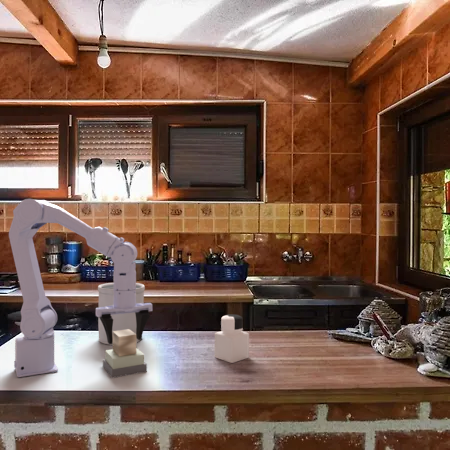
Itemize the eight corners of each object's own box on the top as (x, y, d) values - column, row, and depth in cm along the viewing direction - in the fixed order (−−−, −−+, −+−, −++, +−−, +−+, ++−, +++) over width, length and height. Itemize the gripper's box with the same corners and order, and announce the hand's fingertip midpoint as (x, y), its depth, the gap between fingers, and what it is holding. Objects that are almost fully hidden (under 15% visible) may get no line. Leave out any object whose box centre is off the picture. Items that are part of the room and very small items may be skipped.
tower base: (111, 379, 110) (111, 369, 110) (102, 368, 118) (102, 359, 118) (146, 373, 114) (146, 364, 114) (135, 363, 122) (135, 354, 122)
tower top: (113, 369, 110) (113, 359, 110) (105, 359, 117) (105, 350, 117) (144, 364, 114) (144, 354, 114) (134, 355, 121) (134, 346, 121)
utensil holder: (147, 333, 151) (147, 282, 151) (140, 346, 136) (140, 289, 136) (104, 333, 151) (104, 281, 150) (92, 346, 136) (92, 289, 136)
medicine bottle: (231, 352, 131) (231, 311, 131) (249, 357, 126) (249, 315, 126) (213, 357, 126) (214, 315, 126) (231, 363, 121) (232, 319, 121)
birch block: (119, 356, 112) (119, 336, 112) (112, 350, 117) (112, 331, 117) (136, 353, 114) (136, 334, 114) (129, 347, 120) (129, 329, 119)
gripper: (100, 293, 108) (100, 349, 109) (156, 289, 115) (156, 341, 116) (93, 289, 114) (93, 341, 115) (147, 285, 122) (147, 334, 122)
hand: (124, 341), depth 116 cm, fingers open, 7 cm apart
